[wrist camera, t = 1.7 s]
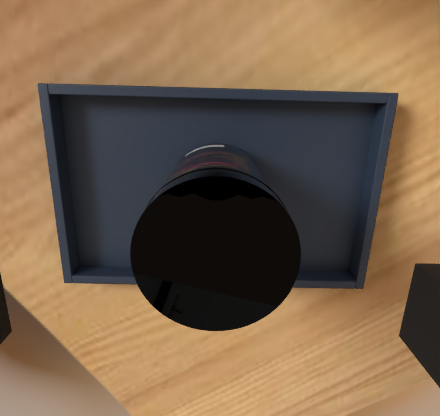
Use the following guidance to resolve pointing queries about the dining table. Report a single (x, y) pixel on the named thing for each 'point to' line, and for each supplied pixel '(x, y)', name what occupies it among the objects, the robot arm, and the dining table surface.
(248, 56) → the dining table surface
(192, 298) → the supplement container
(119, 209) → the tray
